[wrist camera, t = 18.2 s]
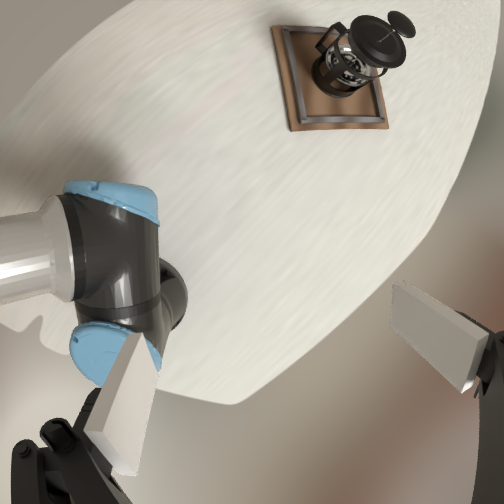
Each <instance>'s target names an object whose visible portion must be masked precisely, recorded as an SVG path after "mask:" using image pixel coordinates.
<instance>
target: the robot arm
mask: <svg viewBox="0 0 504 504" xmlns="http://www.w3.org/2000/svg"><path fill="white" fill-rule="evenodd" d="M63 193H64V194H63V195H52V196H50V197H49V198H48V199H47V200H46V201H45V203H44V204H43V205H42V207H41V208H40V209H39V211H37V212H31V213H24V214H17V215H11V216H5V217H0V305H4V304H7V303H11V302H15V301H19V300H22V299H26V298H30V297H34V296H37V295H41V294H45V293H52V294H53V295H55V296H56V297H58V298H59V299H61V300H62V301H64V302H71V301H74V302H75V308H76V313H77V318H78V326H77V327H76V328H75V329H74V330H73V333H72V335H71V339H70V343H69V349H70V354H71V357H72V359H73V361H74V363H75V365H76V366H77V368H78V369H79V370H80V372H81V373H82V374H83V375H84V376H86V378H88V379H89V380H91V381H93V382H94V383H95V384H96V385H98V386H100V387H102V388H95V389H94V390H93V391H92V392H91V393H90V394H89V395H88V397H87V399H86V401H85V403H84V405H83V407H82V409H81V412H80V413H79V415H78V417H77V419H76V421H75V424H74V426H73V428H72V427H71V426H70V424H69V423H68V421H67V420H65V419H63V418H54V419H51V420H49V421H47V422H46V423H45V424H44V425H43V426H42V428H41V430H40V437H41V439H42V440H43V441H44V442H45V443H46V445H47V446H48V447H44V448H38V446H37V445H36V444H35V443H34V442H33V441H32V440H29V439H28V440H26V439H24V440H22V441H20V442H18V443H17V444H16V445H15V447H14V448H13V451H12V461H11V504H132V502H131V501H130V500H129V498H128V497H127V496H126V494H125V493H124V492H123V490H122V489H121V487H120V486H119V485H118V483H117V482H116V480H115V479H114V478H113V477H112V476H111V471H112V467H113V468H114V469H115V470H116V471H117V472H118V474H120V475H130V476H137V473H138V468H139V462H140V458H141V452H142V447H143V442H144V438H145V433H146V428H147V423H148V419H149V414H150V410H151V406H152V401H153V397H154V393H155V389H156V385H157V381H158V377H159V375H158V372H159V371H160V369H161V364H162V357H163V353H164V350H165V346H166V342H167V339H168V335H169V332H170V331H172V330H173V329H174V328H175V327H177V326H178V324H179V323H180V322H181V320H182V319H183V317H184V314H185V312H186V308H187V302H188V293H187V288H186V285H185V283H184V280H183V278H182V277H181V275H180V274H179V273H178V271H177V270H176V269H175V268H174V267H173V266H171V265H170V264H169V263H167V262H165V261H164V260H161V259H159V246H158V227H160V222H159V220H158V203H157V197H156V195H155V193H154V192H153V191H152V190H151V189H149V188H147V187H144V186H140V185H134V184H127V183H119V182H107V181H99V182H97V181H88V180H72V181H68V182H66V184H65V188H64V189H63ZM390 327H391V328H392V329H393V330H394V331H395V332H396V333H397V334H398V335H400V336H401V337H402V338H403V339H404V340H405V341H406V342H407V343H408V344H409V345H411V346H412V347H413V348H414V349H415V350H416V351H417V352H418V353H419V354H420V355H421V356H422V357H424V358H425V359H426V360H427V361H428V362H429V363H430V364H431V365H432V366H433V367H434V368H435V369H436V370H438V371H439V372H440V373H441V374H442V375H443V376H444V377H445V378H446V379H447V380H448V381H449V382H450V383H451V384H452V385H453V386H454V387H455V388H456V389H457V390H458V391H459V392H460V393H462V392H464V391H465V390H467V389H468V388H469V387H471V386H472V385H473V383H474V380H475V378H476V375H477V376H478V377H479V378H480V381H479V384H478V386H477V389H476V391H475V394H474V398H476V396H477V393H478V392H479V409H480V427H479V449H478V462H477V471H476V478H475V485H474V491H473V497H472V502H471V504H504V331H500V332H498V333H496V334H495V333H494V332H492V331H491V330H489V329H488V328H486V327H485V326H483V325H481V324H480V323H478V322H476V321H475V320H473V319H471V318H470V317H469V316H467V315H466V314H464V313H461V312H458V311H455V310H452V309H450V308H449V307H447V306H446V305H444V304H442V303H441V302H439V301H437V300H436V299H434V298H432V297H431V296H429V295H428V294H426V293H424V292H422V291H421V290H419V289H418V288H416V287H414V286H412V285H411V284H409V283H407V282H406V281H404V280H402V281H399V282H395V283H393V285H392V307H391V322H390Z"/></svg>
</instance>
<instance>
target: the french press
mask: <svg viewBox="0 0 504 504" xmlns="http://www.w3.org/2000/svg"><path fill="white" fill-rule="evenodd" d="M388 21H389V23H390V25H391V26H390V25H389V24H388V23H387V22H385V21H383V20H382V19H379V18H377V17H374V16H369V15H362V16H358V17H357V18H355V19H354V20H353V21H352V23H351V26H350V29H348V30H347V29H346V27H345V26H344V25H343V24H342V23H340V22H337V23H335V24H333V25H331V26H330V28H329V29H328V30H327V31H326V33H325V34H324V35H323V36H322V38H321V39H320V40H319V41H318V43H317V44H316V45H315V48H316V49H317V50H318V51H319V52H320V53H321V54H322V55H321V56H320V57H318V58H317V59H316V60H315V61H314V62H313V65H312V69H311V73H312V78H313V80H314V82H315V84H316V85H317V87H318V88H319V89H320V90H321V91H322V92H324V93H325V94H327V95H329V96H331V97H335V98H346V97H349V96H351V95H352V94H353V93H354V92H355V91H357V90H358V89H360V88H362V87H363V86H365V85H367V84H368V83H370V82H372V81H374V80H375V79H377V78H379V77H381V76H382V75H384V74H385V73H386V72H387V70H388V68H391V69H392V68H396V67H399V66H401V65H402V64H403V63H404V61H405V58H406V49H405V45H404V43H403V40H402V39H401V37H400V35H402V36H404V37H406V38H413V37H414V36H415V34H416V30H415V27H414V25H413V23H412V22H411V21H410V19H409V18H408V17H406V16H405V15H404V14H402V13H400V12H398V11H390V12H389V13H388ZM334 29H336V31H337V32H338V33H339V34H340V35H339V36H338V37H337V38H336V39H335V40H334V41H333V43H332V44H331V45H330V46H329V47H328V48H326V47H325V46H324V45H323V42H324V41H325V40H326V39H327V37H328V36H329V35H330V34H331V33H332V31H333V30H334ZM346 33H348V42H349V45H347V44H338V42H339V40H340V39H341V38H342V37H343V36H344V35H345V34H346ZM398 33H399V34H400V35H399V34H398ZM324 61H326V65H327V68H328V70H329V71H328V72H327V73H326V74H325V75H324V76H322V74H321V72H320V68H319V67H320V65H321V63H323V62H324ZM370 66H371V67H374V68H383V71H382V73H381V74H380V75H378V76H376V77H370V76H371V67H370ZM335 79H337V80H338V81H339V82H341V83H343V84H346V85H349V86H350V88H349V89H347V90H345V91H341V90H338V89H336V88H334V87H332V86H331V85H330V84H331V83H332V82H333V81H334V80H335ZM368 80H370V81H368ZM366 82H367V83H366Z"/></svg>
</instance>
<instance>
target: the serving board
mask: <svg viewBox="0 0 504 504" xmlns="http://www.w3.org/2000/svg"><path fill="white" fill-rule="evenodd" d="M271 29H272V33H273V38H274V42H275V47H276V52H277V57H278V62H279V67H280V72H281V77H282V83H283V88H284V94H285V99H286V105H287V111H288V117H289V123H290V129H291V132H293V131H308V130H329V129H389V125H388V119H387V114H386V108H385V103H384V98H383V94H382V89H381V85H380V80H379V78H377V79H375V80H374V81H372V82H370V83H368V84H367V85H365V86H363V87H362V88H360V89H358V90H357V91H355V92H354V93H353V94H352V95H351V96H349V97H346V98H335V97H331V96H329V95H327V94H325V93H324V92H322V91H321V90H320V89H319V88H318V87H317V85H316V84H315V82H314V80H313V78H312V73H311V69H312V65H313V62H314V61H315V60H316V59H317V58H318V57H320V56H321V55H322V54H321V53H320V52H319V51H318V50H317V49H316V48H315V45H316V44H317V43H318V41H319V40H320V39H321V38H322V36H323V35H324V34H325V33H326V31H327V30H328V29H329V28H324V27H310V26H272V28H271ZM339 35H340V34H339V33H338V32H337V31H336V29H334V30H333V31H332V33H331V34H330V35H329V36H328V37H327V39H326V40H325V41H324V42H323V45H324V46H325V47H326V48H328V47H329V46H330V45H331V44H332V43H333V41H334V40H335V39H336V38H337V37H338V36H339ZM338 44H347V45H349V42H348V33H346V34H345V35H344V36H343V37H342V38H341V39H340V40H339V42H338ZM370 67H371V66H370ZM319 68H320V72H321V74H322V76H324V75H325V74H326V73H327V72H328V71H329V70H328V68H327V65H326V61H324V62H323V63H321V65H320V67H319ZM376 76H378V72H377V68H374V67H371V76H370V77H376ZM368 81H370V80H368ZM366 83H367V82H366ZM330 85H331V86H332V87H334V88H336V89H338V90H341V91H345V90H347V89H349V88H350V86H349V85H346V84H343V83H341V82H339V81H338V80H337V79H335V80H334V81H333V82H332V83H331V84H330Z"/></svg>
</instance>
